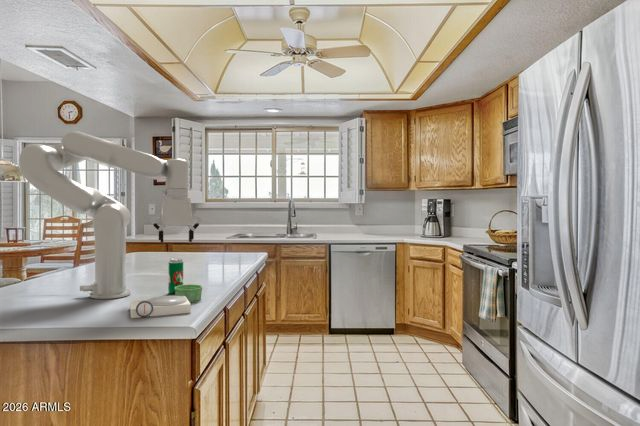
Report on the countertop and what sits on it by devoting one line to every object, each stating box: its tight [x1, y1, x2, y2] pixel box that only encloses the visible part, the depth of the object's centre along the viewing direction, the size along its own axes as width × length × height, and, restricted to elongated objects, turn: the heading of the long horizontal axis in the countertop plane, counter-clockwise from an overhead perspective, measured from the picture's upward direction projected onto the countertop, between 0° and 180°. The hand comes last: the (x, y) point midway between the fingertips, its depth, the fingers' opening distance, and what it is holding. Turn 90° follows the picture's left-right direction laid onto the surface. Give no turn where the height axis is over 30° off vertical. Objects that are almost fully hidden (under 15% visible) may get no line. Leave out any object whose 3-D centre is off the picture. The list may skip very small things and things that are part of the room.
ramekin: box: [174, 283, 203, 303], centre depth 139 cm, size 9×9×4 cm
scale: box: [129, 295, 192, 319], centre depth 124 cm, size 16×13×4 cm
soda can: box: [167, 258, 184, 295], centre depth 149 cm, size 5×5×12 cm
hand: (176, 241), depth 148 cm, fingers open, 9 cm apart
